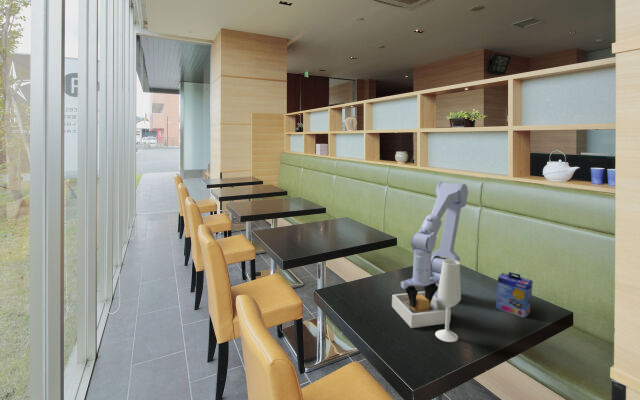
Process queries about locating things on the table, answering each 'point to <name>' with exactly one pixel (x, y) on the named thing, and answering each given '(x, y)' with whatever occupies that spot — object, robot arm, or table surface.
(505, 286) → the ink cartridge box
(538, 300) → the table surface
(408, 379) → the table surface
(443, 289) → the champagne flute
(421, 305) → the light brown rectangular block
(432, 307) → the inlet socket
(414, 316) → the walled box
